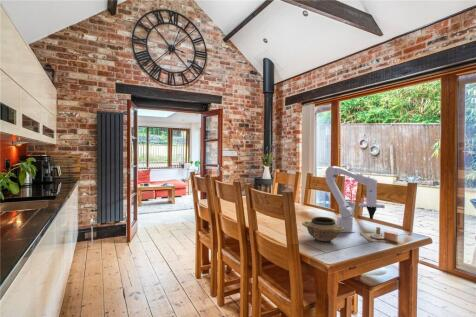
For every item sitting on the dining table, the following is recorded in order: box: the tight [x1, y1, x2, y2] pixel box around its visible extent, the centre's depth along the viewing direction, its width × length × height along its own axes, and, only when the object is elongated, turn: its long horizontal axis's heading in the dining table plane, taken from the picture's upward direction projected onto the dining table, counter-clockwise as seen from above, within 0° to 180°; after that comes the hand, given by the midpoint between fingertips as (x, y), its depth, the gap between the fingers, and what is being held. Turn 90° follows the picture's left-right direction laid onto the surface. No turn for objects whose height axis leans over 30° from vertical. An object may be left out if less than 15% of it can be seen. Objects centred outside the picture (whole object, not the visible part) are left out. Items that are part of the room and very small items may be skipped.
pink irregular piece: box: [370, 230, 399, 242], centre depth 165 cm, size 15×9×4 cm, turn 40°
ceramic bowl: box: [301, 216, 345, 245], centre depth 160 cm, size 24×18×15 cm
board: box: [359, 226, 399, 244], centre depth 168 cm, size 16×15×6 cm
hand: (371, 218), depth 173 cm, fingers closed
